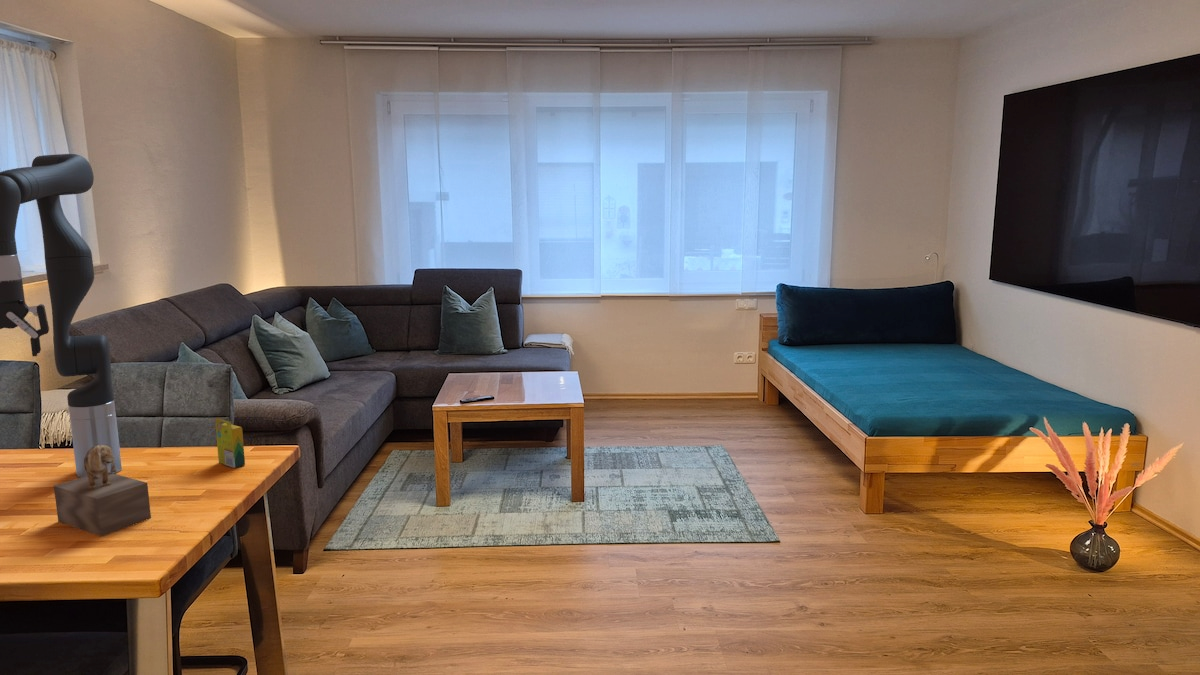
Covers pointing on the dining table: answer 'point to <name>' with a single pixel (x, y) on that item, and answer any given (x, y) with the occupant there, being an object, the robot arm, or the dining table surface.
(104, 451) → the lion figurine
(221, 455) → the crayon box
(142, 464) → the dining table surface
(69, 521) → the brown wooden block
